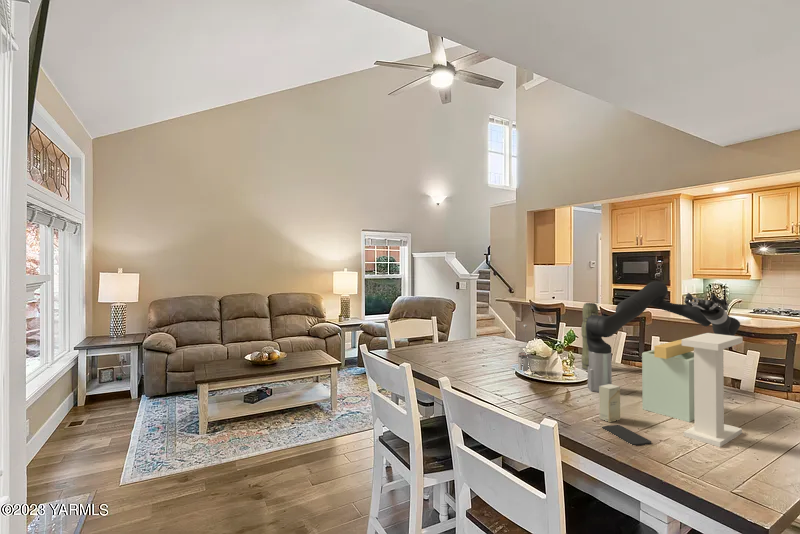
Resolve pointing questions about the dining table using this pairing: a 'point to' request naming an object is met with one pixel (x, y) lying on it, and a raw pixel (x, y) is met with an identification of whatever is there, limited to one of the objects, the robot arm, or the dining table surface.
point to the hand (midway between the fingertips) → (699, 295)
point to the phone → (627, 435)
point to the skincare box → (609, 402)
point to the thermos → (587, 312)
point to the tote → (668, 385)
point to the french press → (523, 356)
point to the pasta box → (671, 349)
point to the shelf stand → (710, 389)
